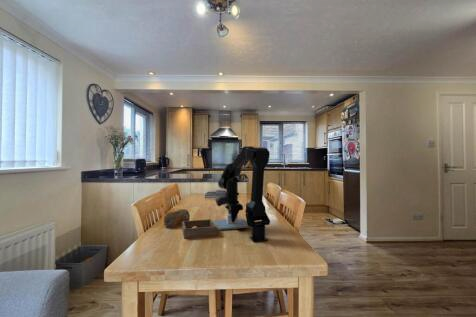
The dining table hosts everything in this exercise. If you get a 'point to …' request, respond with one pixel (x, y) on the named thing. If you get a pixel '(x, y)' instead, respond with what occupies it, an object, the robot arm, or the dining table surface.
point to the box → (199, 228)
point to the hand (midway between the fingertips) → (232, 221)
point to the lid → (231, 223)
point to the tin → (176, 218)
